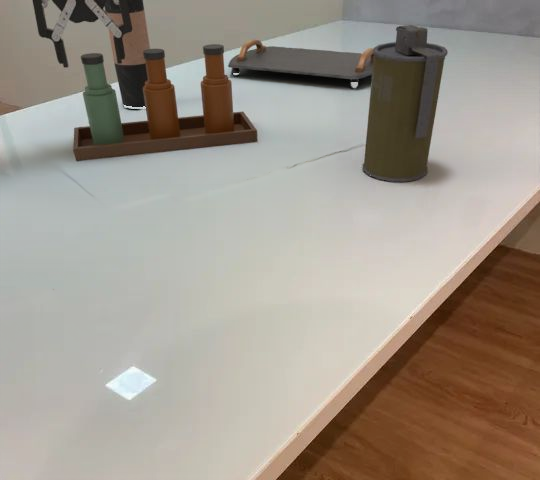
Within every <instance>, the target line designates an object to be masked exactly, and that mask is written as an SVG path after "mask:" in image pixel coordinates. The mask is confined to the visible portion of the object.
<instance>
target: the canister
mask: <svg viewBox="0 0 540 480" xmlns="http://www.w3.org/2000/svg"><path fill="white" fill-rule="evenodd" d="M395 31H396V36H395V41H394V42H386V43H381V44H378V45H376V46H374V47H373V48H374V49H373V54H374V60H373V71H372V75H371V82H370V94H369V104H368V114H367V115H368V116H367V124H366V125H367V127H366V137H365V146H364V147H365V149H364V160H363V164H362V166H363V169H362V171H363V170H364V171H365V172H366V173H367V174H369V175H371V176H373V177H376V178H378V179H377V180H379V179H382V180H381V181H383V182H388V183H389V182H390V181H391V183H408V182H413V181H417V180H420V179H422V178H424V177H425V176H427V174H428V172H429V168H428V161H429V155H430V148H431V144H432V143H431V142H432V137H433V130H434V124H435V120H436V113H437V108H438V101H439V94H440V89H441V82H442V78H443V77H442V76H443V71H444V64H445V60H446V59H445V58H446V57H447V55H448V53H449V50H448V49H447V48H446V47H445V46H442V45H439V44H435V43H432V42H431V43H430V42H428V28H427V27H423V26H417V25H413V24H408V25H399V26H396V27H395ZM364 171H363V172H364ZM365 172H364V173H365ZM366 173H365V174H366ZM367 174H366V175H367ZM369 175H368V176H369ZM371 176H369V177H371ZM423 176H424V177H423ZM373 177H371V178H373ZM376 178H375V179H376ZM384 180H386V181H384Z"/></svg>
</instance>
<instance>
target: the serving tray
mask: <svg viewBox="0 0 540 480" xmlns="http://www.w3.org/2000/svg"><path fill="white" fill-rule="evenodd" d="M254 46H256V48H253V49H250V48H252V47H254ZM374 48H375V47H369V48H367V49H366V50H364V51H363V52H362V53H361V52H350V51H335V50H324V49H313V48H312V49H311V48H301V47H299V48H298V47H285V46H274V45H273V46H272V45H271V46H266V45H264V44H263V42H261V40H260V39H257V38H255V39H250V40H248V41H246V42H245V43H244V44H243V45H242V46H241V49H240V52H239V54H236V55H235V56H233V57H232V58H231V59H230V60H229V62H228V64H227V67H228V68H231V70H230V73H231V74H232V73H239V72H240V73H241V70H242V69H243V70H254V71H263V72H274V73H285V74H294V75H305V76H314V77H315V76H316V77H325V78H326V77H327V78H336V79H346V80H350V81H351V82H358V81H359V82H360V80H359V79H364V78H367V77H370V76H372V71H373V60H374V54H373V49H374ZM234 77H237V76H234Z"/></svg>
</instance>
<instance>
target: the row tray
mask: <svg viewBox="0 0 540 480" xmlns="http://www.w3.org/2000/svg"><path fill="white" fill-rule="evenodd" d="M233 117H234V131H231V132H221V133H211V134H205V127H204V116H203V114H202V115H192V116H181V117H180V116H179V117H178V121H179V129H180V137H172V138H162V139H152V140H151V139H150V133H149V126H148V120H140V121H139V120H138V121H129V122H121V124H122V129H123V135H124V140H125V142H123V143H113V144H104V145H94V143H93V139H92V134H91V130H90V125H87V126H78V127H77V126H76V127H74V128H73V144H72V151H73V155H74V158H75V161H76V162H82V161H84V162H85V161H92V160H101V159H111V158H121V157H129V156H130V157H131V156H138V155H147V154H159V153H167V152H175V151H186V150H195V149H204V148H205V149H206V148H214V147H223V146H231V145H242V144H243V145H244V144H252V143H258V130H257V128H256V127H255V125H254V124H253V122H251V120H250V118H249V117H248V116H247V114H246V113H245V112H244V111H233Z"/></svg>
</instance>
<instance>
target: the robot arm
mask: <svg viewBox="0 0 540 480" xmlns="http://www.w3.org/2000/svg"><path fill="white" fill-rule="evenodd" d="M49 1H50V0H32V7H33V10H34V16H35V21H36V28H37V32H38V36H39V37H40V38H43V39H48V40H50V41H52V43H53V47H54V51H55V54H56V55H55V56H56V59H57V62H58V64H59V65H62V67H63V68H64V69H65V68H69V61H68V56H67V52H66V46H65V43H64V39H62V35H63V33H64V31H65V29H66V27H67V24H68V23H69V21H70V22H72V23H74V24H80V23H84V22H87V23H95V22H97V21H98V20H100V22H101V23H102V24H103V25H104V26H105V27H106V28H107V30H108V29H109V30H110V31H111V32H112V33H113V34H114V36H113V39H114V45H115V51H116V57H117V63H118V64H121V63H122V60H121V59H125V52H124V46H123V39H122V38H123V35H124V34H126V33H128V32H131V31H132V24H131V19H130V14H129V9H128V4H127V0H113V1H114V3H115V4H117V5H120V10H121V15H122V19H123V24H121V25H119V26H118V25H117V24H116V23H115V22H114V21H113V20H112V18H111V17H110V16H109V15H108V14H107V12H106V11H105V4H106V2H107V0H51V2H52V3H53V5H55V6H56V7H57V8H58V10H59V11H60V14H59V16H58V18H57V20H56V23H55V26H54V28H49V27H48V25H47V20H46V15H45V9H47V8H48V7H49V6H48V5H49ZM109 30H108V31H109Z"/></svg>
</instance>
